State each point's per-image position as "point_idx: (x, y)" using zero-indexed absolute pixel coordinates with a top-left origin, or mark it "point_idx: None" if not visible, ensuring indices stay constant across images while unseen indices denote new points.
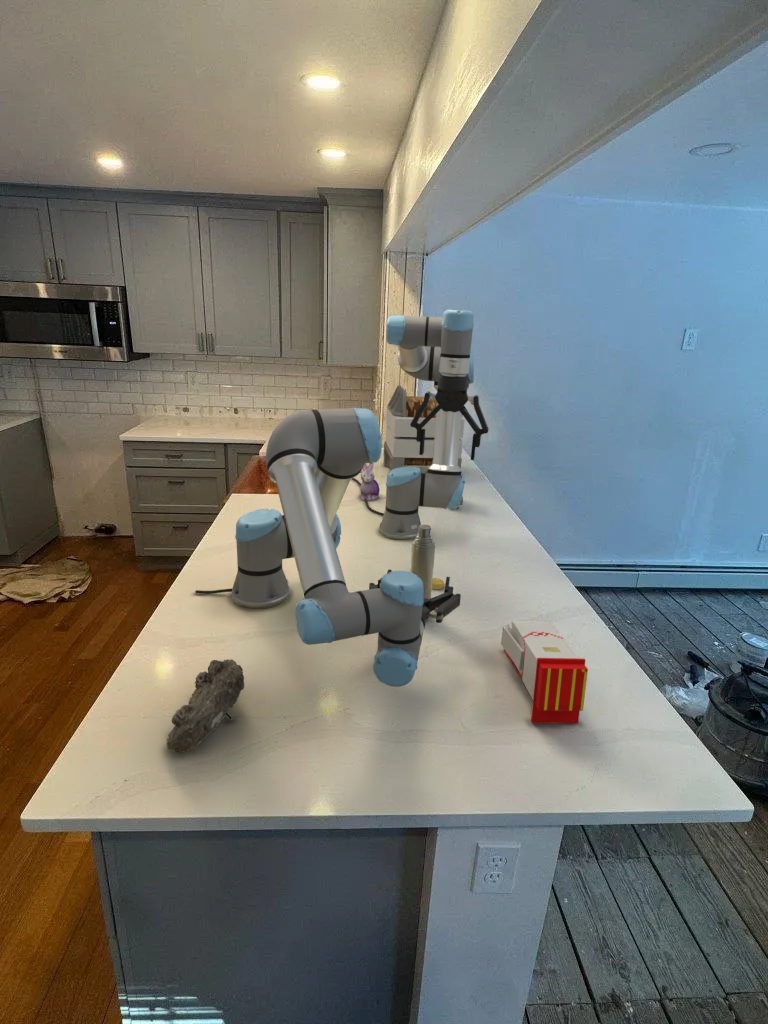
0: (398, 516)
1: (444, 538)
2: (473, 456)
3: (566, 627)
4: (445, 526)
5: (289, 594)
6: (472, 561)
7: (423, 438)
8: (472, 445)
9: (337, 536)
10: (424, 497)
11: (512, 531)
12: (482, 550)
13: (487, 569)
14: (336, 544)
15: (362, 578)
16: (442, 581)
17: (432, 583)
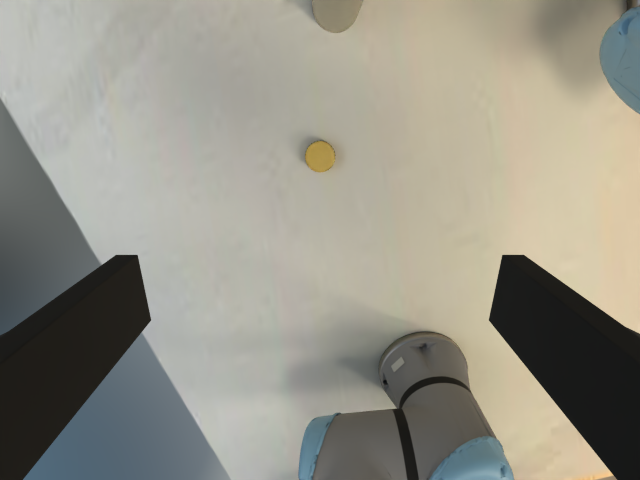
0: (438, 373)
1: (333, 364)
2: (102, 267)
3: (45, 58)
4: None
5: (627, 4)
6: (267, 285)
7: (591, 347)
8: (54, 317)
9: (638, 11)
10: (393, 420)
11: (215, 426)
12: (256, 335)
13: (233, 260)
14: (617, 20)
15: (473, 142)
16: (307, 160)
17: (326, 144)
